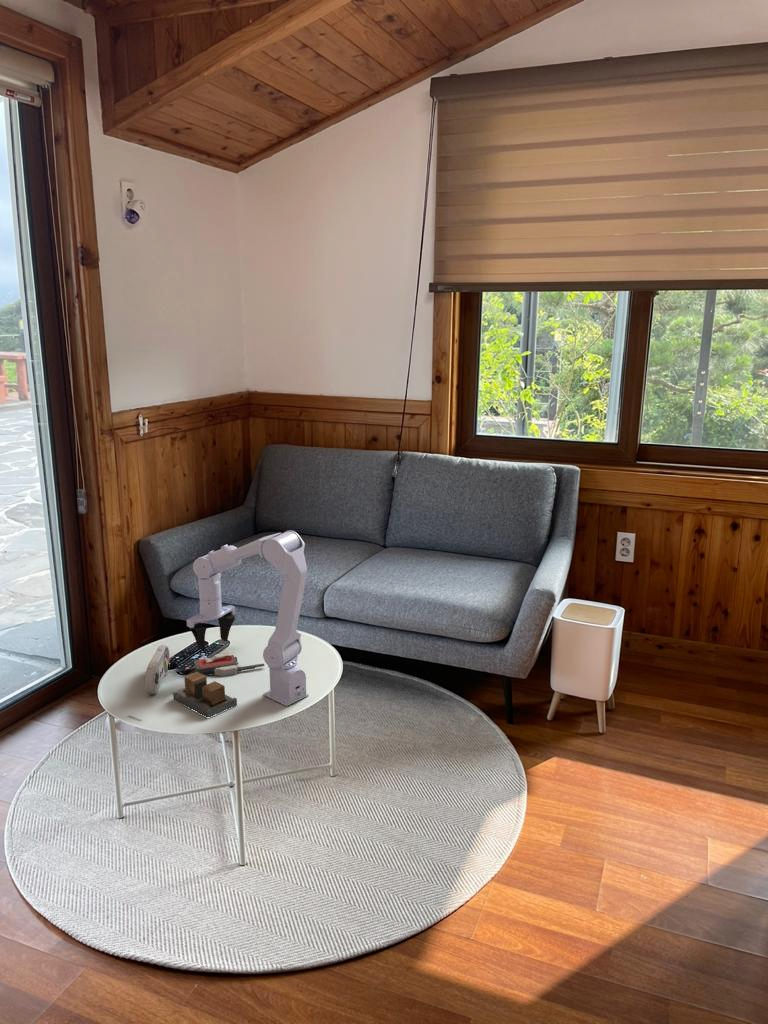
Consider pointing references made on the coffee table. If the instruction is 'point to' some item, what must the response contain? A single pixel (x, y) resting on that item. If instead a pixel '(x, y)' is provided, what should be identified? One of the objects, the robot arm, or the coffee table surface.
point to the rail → (207, 699)
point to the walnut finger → (195, 684)
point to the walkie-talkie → (220, 665)
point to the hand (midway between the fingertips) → (213, 644)
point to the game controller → (157, 669)
